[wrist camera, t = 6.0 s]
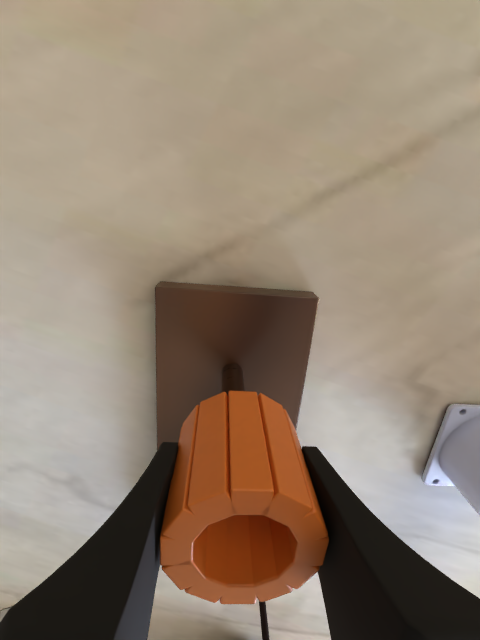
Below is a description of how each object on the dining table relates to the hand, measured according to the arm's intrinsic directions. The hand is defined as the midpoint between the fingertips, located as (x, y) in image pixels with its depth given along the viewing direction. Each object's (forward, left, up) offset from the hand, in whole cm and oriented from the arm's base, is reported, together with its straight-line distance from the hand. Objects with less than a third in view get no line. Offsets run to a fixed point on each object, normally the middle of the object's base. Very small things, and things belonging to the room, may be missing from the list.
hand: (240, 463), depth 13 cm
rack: (0, +5, -9) cm, 11 cm away
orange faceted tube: (0, 0, -1) cm, 1 cm away
